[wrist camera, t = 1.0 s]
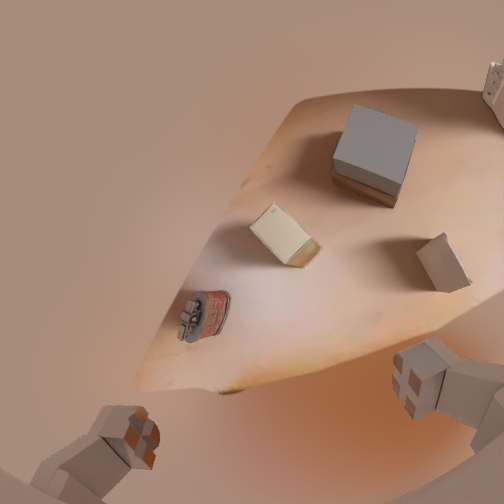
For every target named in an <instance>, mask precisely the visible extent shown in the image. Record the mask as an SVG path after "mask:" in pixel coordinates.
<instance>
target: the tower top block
mask: <svg viewBox="0 0 504 504" xmlns="http://www.w3.org/2000/svg"><path fill="white" fill-rule="evenodd" d="M417 128H418V126H417V125H415V124H412V123H410V122H407V121H405V120H402V119H399V118H397V117H394V116H391V115H388V114H385V113H383V112H380V111H377V110H373V109H370V108H367V107H364V106H361V105H357V104H354V106H353V109H352V111H351V114H350V116H349V119H348V121H347V124H346V126H345V129H344V131H343V134H342V136H341V139H340V141H339V143H338V146H337V148H336V151H335V153H334V155H333V161H334V165H335V169H336V173H338V174H341V175H344V176H346V177H349V178H351V179H354V180H357V181H359V182H362V183H364V184H367V185H369V186H371V187H374V188H376V189H379V190H381V191H383V192H386V193H388V194H390V195H392V196H395V197H397V195H398V192H399V190H400V187H401V184H402V181H403V178H404V175H405V172H406V169H407V165H408V162H409V158H410V155H411V151H412V148H413V144H414V140H415V136H416V133H417Z"/></svg>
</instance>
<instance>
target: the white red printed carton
mask: <svg viewBox="0 0 504 504" xmlns="http://www.w3.org/2000/svg"><path fill="white" fill-rule="evenodd" d="M415 254H416V255H417V257H418V259H419V260H420V262H421V264H422V265H423V267H424V269H425V270H426V272H427V274H428V276H429V277H430V279H431V281H432V283H433V285H434V287H435V288H436V290H437V291H438V292H447V293H450V292H453V291H456V290H458V289H461V288H463V287H466V286H470V282H471V283H472V281H471V279H470V277H469V275H468V273H467V271H466V269H465V267H464V265H463V263H462V262H461V260H460V258H459V256H458V254H457V253H456V251H455V249H454V247H453V246H452V244H451V242H450V241H449V239H448V237H447V236H446V234H445V232H444V233H442V234H440V235H439V236H437V237H436V238H434V239H432V240H431V241H430V242H429V243H427V244H426V245H425V246H423V247H422V248H421V249H420V250H418V251H417V252H416V253H415Z"/></svg>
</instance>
